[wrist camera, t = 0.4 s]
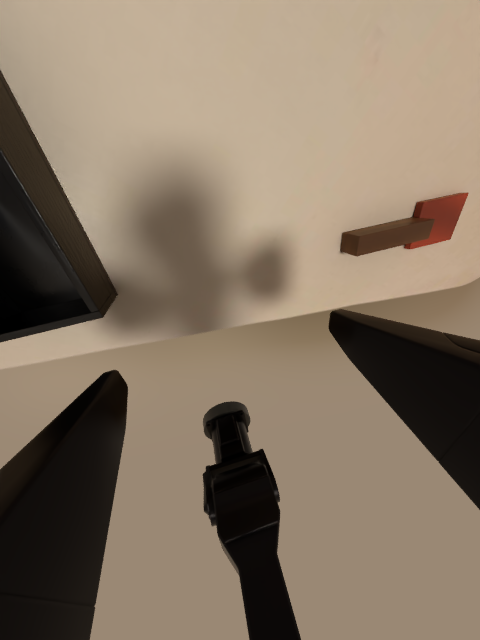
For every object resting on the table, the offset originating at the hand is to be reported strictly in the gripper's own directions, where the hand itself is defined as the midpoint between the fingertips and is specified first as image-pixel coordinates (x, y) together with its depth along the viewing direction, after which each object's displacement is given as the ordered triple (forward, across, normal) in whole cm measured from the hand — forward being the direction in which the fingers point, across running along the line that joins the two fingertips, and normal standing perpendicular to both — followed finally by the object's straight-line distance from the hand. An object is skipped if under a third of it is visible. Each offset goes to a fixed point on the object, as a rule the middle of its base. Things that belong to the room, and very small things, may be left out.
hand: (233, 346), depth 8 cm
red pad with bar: (+14, -23, +1) cm, 27 cm away
